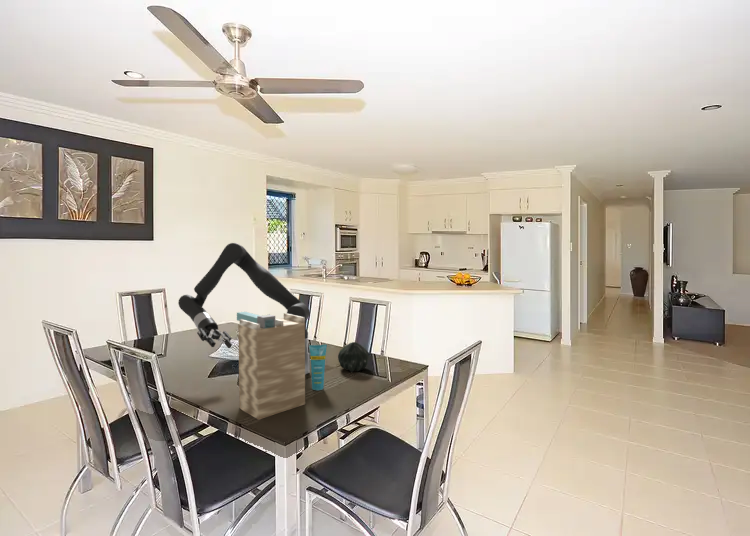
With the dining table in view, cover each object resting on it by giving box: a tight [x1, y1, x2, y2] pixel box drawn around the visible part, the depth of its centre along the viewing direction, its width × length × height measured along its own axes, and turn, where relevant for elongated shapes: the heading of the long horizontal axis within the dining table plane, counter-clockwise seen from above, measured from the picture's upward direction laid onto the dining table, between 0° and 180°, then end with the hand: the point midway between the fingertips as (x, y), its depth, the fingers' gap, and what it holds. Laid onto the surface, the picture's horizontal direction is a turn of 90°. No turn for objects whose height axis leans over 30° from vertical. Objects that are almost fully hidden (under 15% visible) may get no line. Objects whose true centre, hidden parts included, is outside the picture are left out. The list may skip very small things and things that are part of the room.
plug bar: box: [236, 311, 276, 329], centre depth 155 cm, size 21×5×4 cm, turn 45°
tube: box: [308, 343, 328, 391], centre depth 176 cm, size 7×5×19 cm, turn 103°
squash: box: [337, 341, 369, 372], centre depth 203 cm, size 14×15×15 cm
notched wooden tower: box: [237, 312, 306, 420], centre depth 157 cm, size 14×20×34 cm
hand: (222, 346), depth 176 cm, fingers open, 8 cm apart
